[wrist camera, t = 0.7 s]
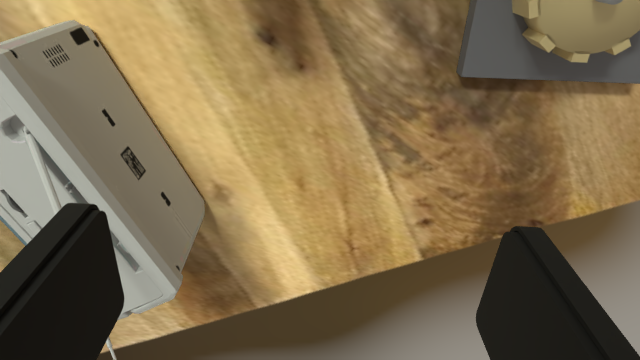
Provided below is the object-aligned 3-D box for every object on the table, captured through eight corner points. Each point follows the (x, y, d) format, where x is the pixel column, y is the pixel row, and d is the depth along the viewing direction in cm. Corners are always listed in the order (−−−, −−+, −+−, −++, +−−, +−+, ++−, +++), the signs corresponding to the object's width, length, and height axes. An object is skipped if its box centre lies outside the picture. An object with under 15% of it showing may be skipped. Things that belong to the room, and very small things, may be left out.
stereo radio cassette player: (10, 45, 36) (-283, 148, 18) (90, 4, 34) (-147, 74, 17) (152, 232, 45) (48, 416, 28) (220, 206, 44) (155, 385, 26)
